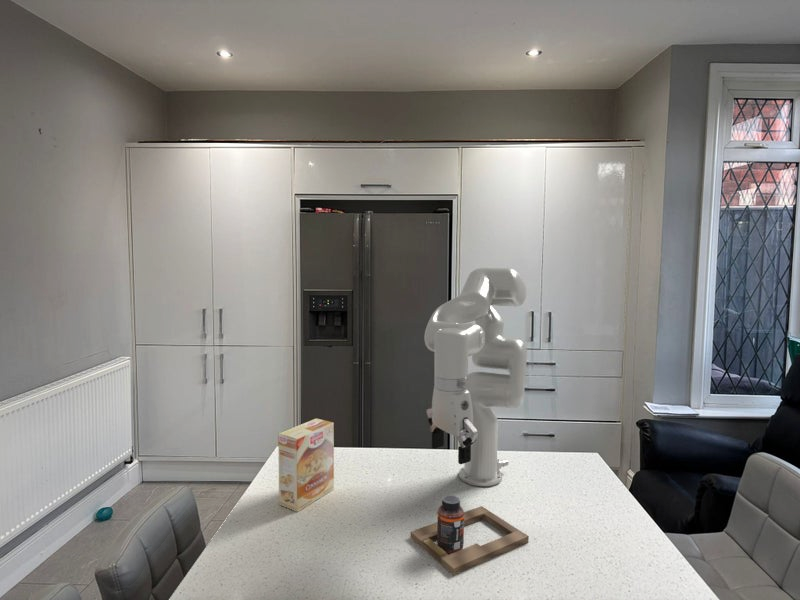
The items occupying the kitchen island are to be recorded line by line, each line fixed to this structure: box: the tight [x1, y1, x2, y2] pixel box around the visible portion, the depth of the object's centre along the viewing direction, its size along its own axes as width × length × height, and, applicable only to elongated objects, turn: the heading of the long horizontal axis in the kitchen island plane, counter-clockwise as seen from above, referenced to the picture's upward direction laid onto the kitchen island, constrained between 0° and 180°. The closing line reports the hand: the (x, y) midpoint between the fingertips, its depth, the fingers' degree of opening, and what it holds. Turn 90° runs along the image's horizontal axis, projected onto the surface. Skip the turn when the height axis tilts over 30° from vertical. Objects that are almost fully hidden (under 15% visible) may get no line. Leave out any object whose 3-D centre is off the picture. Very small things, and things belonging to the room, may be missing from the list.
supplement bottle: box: [436, 494, 465, 554], centre depth 111 cm, size 6×6×11 cm
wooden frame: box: [410, 505, 529, 576], centre depth 114 cm, size 22×16×2 cm
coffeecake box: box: [277, 418, 335, 513], centre depth 133 cm, size 15×7×20 cm, turn 148°
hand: (450, 454), depth 114 cm, fingers open, 9 cm apart
